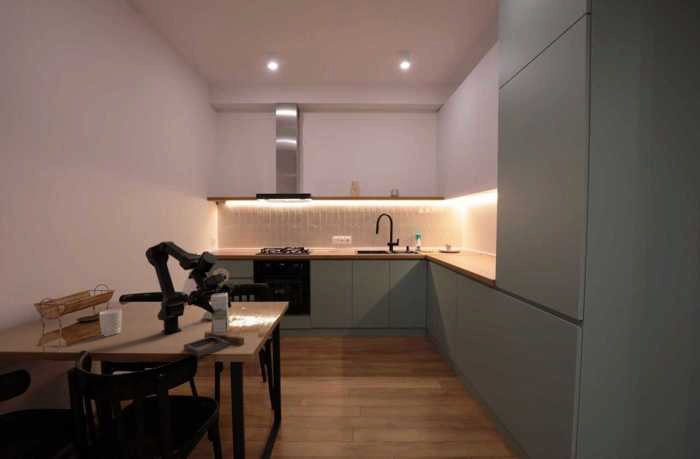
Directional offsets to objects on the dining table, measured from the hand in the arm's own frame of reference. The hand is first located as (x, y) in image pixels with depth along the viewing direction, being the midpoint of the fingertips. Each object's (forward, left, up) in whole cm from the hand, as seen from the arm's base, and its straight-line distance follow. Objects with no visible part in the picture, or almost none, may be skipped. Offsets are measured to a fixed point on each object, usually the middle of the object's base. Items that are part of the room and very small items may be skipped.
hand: (222, 310), depth 119 cm
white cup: (-51, -29, -13) cm, 60 cm away
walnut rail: (-3, +1, -13) cm, 14 cm away
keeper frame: (0, -6, -13) cm, 15 cm away
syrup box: (-1, 0, -9) cm, 9 cm away
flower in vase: (-38, +12, -13) cm, 42 cm away
